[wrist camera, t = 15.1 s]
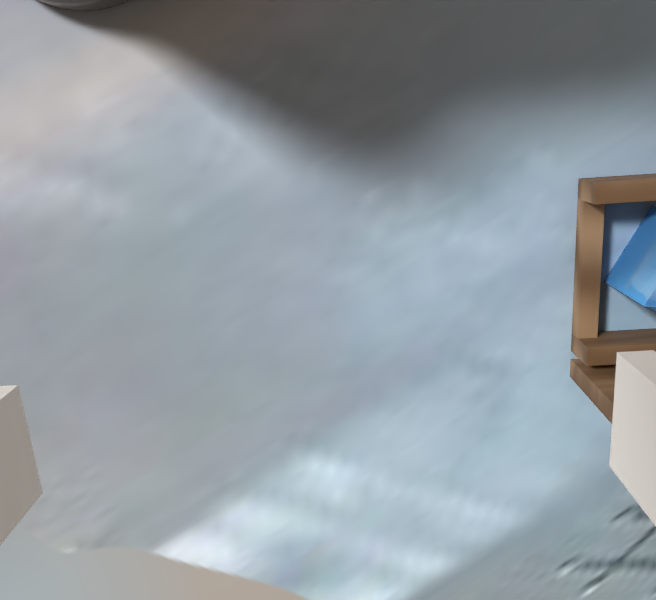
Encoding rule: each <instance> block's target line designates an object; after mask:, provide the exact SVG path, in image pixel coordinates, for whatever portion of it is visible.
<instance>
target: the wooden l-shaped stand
mask: <svg viewBox="0 0 656 600" xmlns="http://www.w3.org/2000/svg"><path fill="white" fill-rule="evenodd" d="M641 201H656V174H642V175H627V176H612V177H597V178H582V179H579V186H578V209H577V231H576V254H575V277H574V299H573V322H572V344H571V351H572V352H573V353H574V354H575V355H576V356H577V357H578V358H579V359H571V367H570V377H571V378H572V379H573V380H574V381H575V383H576V384H577V385H578V386H579V387H580V388H581V389H582V391H583V392H584V393H585V394H586V395H587V396H588V397H589V399H590V400H591V401H592V402H593V403H594V404H595V405H596V406H597V408H598V409H599V410H600V411H601V412H602V413H603V414H604V416H605V417H606V418H607V419H608V420H609V421H610V422H611V423H612V419H613V403H614V388H615V373H616V357H617V352H629V351H647V350H654V351H655V352H656V329H639V330H621V331H603V332H598V317H599V300H600V282H601V264H602V247H603V229H604V211H605V204H610V203H626V202H641Z"/></svg>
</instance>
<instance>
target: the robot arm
mask: <svg viewBox="0 0 656 600" xmlns="http://www.w3.org/2000/svg"><path fill="white" fill-rule="evenodd" d="M38 1H41V2H43V3H46V4H49V5H52V6H55V7H59V8H64V9H70V10H82V11H87V10H99V9H105V8H109V7H113V6H116V5H119V4H121V3H124V2H126V1H128V0H38ZM609 466H610V467H611V469H612V470H613V471H614V473H615V474H616V475H617V477H618V478H619V479H620V480H621V482H622V483H623V484H624V486H625V487H626V488H627V490H628V491H629V492H630V494H631V495H632V496H633V497H634V499H635V500H636V501H637V503H638V504H639V505H640V507H641V508H642V509H643V510H644V512H645V513H646V514H647V516H648V517H649V518H650V520H651V521H652V522H653V524H654V525H655V526H656V352H655V351H654V350H647V351H629V352H617V357H616V373H615V388H614V403H613V419H612V434H611V449H610V465H609ZM42 493H43V492H42V488H41V483H40V479H39V475H38V470H37V466H36V461H35V457H34V453H33V448H32V444H31V439H30V435H29V431H28V426H27V422H26V417H25V413H24V409H23V404H22V400H21V395H20V391H19V387H18V385H12V386H0V545H1V544H2V542H3V541H4V540H5V539H6V538H7V536H8V535H9V534H10V533H11V531H12V530H13V529H14V528H15V526H16V525H17V524H18V523H19V521H20V520H21V519H22V518H23V517H24V515H25V514H26V513H27V512H28V510H29V509H30V508H31V507H32V505H33V504H34V503H35V502H36V500H37V499H38V498H39V497H40V495H41V494H42Z"/></svg>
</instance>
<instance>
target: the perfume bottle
mask: <svg viewBox="0 0 656 600" xmlns="http://www.w3.org/2000/svg"><path fill="white" fill-rule="evenodd" d="M604 282H606V283H607V284H609V285H610V286H612V287H614V288H615V289H617V290H619V291H620V292H622V293H623V294H625V295H627V296H628V297H630V298H631V299H633V300H635V301H636V302H638V303H640V304H641V305H643V306H645V307H647V308H649V309H651V310H653V311H655V312H656V206H655V205H652V207H651V208H650V210H649V212H648V213H647V215H646V216H645V218H644V219H643V221H642V223H641V224H640V226H639V227H638V229H637V230H636V232H635V234H634V235H633V237H632V238H631V240H630V242H629V243H628V245H627V246H626V248H625V249H624V251H623V253H622V254H621V256H620V257H619V259H618V260H617V262H616V264H615V265H614V267H613V268H612V270H611V271H610V273H609V275H608V276H607V278H606V279H605V281H604Z"/></svg>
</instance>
